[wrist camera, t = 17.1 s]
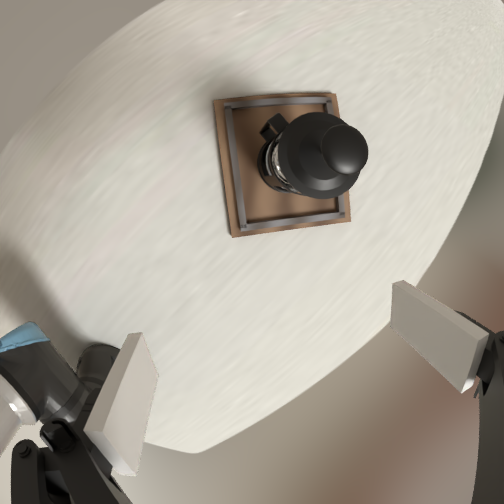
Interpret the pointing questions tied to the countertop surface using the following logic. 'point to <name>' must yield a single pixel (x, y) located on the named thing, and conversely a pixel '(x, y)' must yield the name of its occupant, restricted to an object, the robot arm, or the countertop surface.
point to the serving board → (246, 171)
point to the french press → (311, 155)
